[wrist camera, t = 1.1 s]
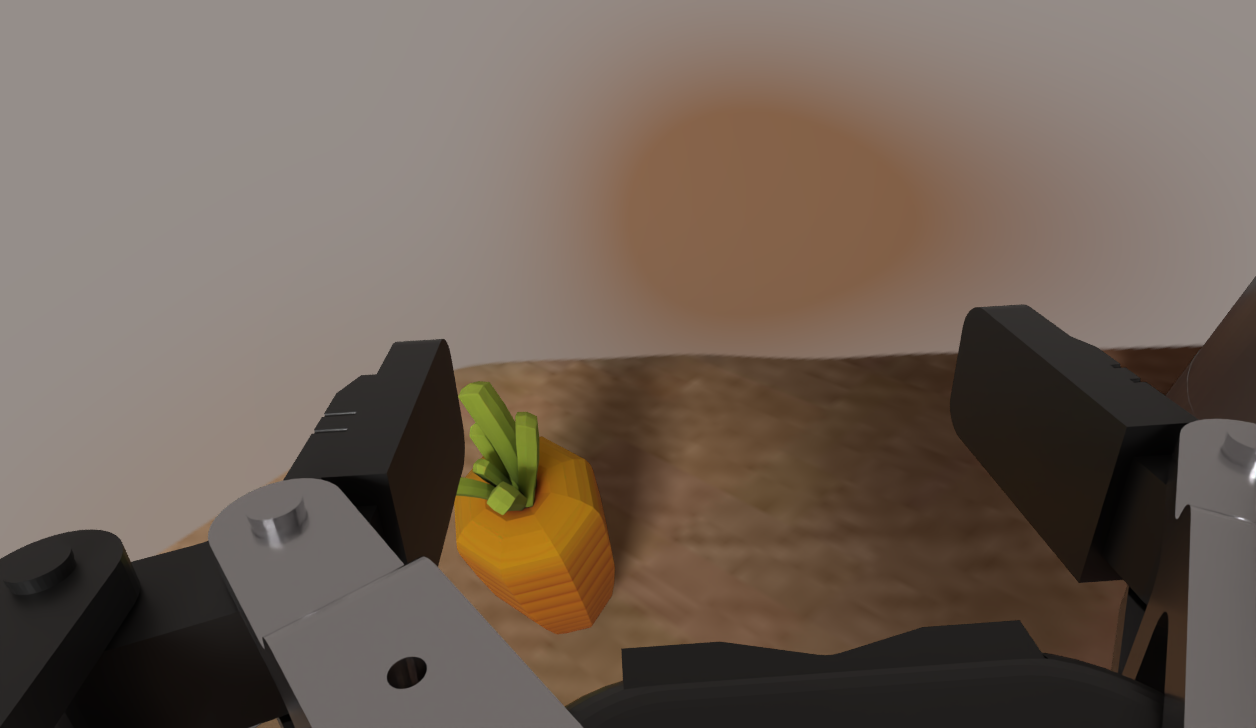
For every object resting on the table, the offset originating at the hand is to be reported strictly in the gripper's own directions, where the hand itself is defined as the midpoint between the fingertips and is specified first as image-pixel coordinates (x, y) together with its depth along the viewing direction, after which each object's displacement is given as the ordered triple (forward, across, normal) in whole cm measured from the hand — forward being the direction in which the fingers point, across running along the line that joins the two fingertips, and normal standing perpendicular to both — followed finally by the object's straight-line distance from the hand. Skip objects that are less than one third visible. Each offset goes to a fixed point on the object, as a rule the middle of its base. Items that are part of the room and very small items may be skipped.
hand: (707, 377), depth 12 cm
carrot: (+13, +3, +18) cm, 23 cm away
